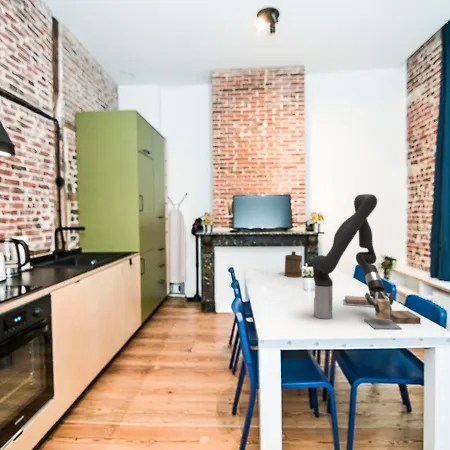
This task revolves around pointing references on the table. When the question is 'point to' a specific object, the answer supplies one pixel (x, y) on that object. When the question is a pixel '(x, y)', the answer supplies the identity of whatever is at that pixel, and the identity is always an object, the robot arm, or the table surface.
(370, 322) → the mat
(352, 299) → the packaged product
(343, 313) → the table surface
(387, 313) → the maple block
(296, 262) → the wooden container
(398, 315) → the walnut ledge
